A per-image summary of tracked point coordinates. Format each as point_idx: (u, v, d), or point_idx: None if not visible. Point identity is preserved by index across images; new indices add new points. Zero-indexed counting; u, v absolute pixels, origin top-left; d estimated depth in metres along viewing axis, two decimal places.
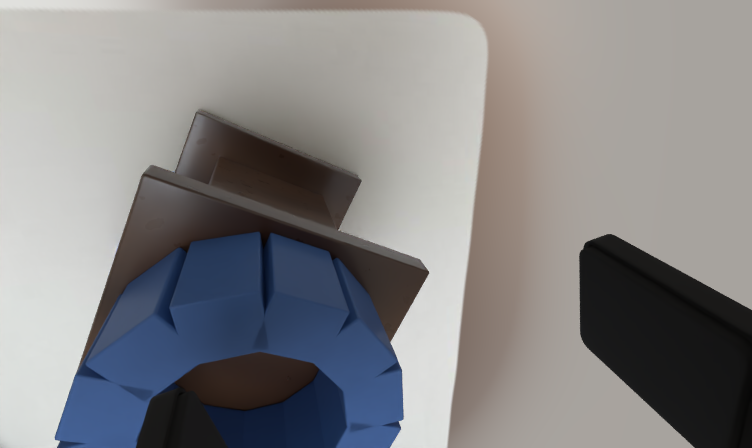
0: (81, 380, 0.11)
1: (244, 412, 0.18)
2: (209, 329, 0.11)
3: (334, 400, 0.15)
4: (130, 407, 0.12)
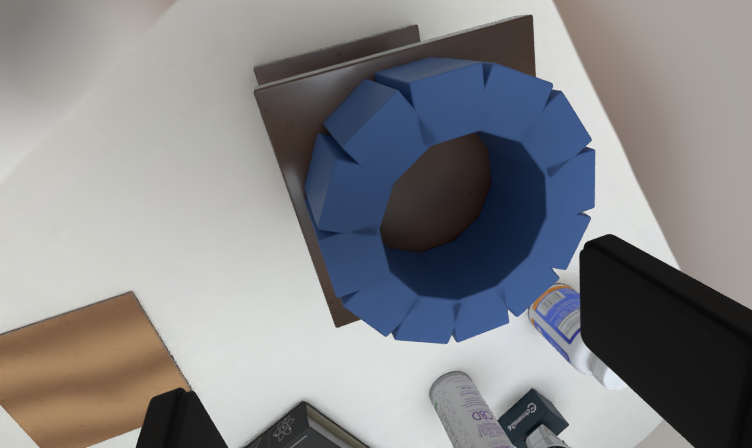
0: (324, 242, 0.13)
1: (454, 242, 0.19)
2: (382, 148, 0.12)
3: (519, 172, 0.16)
4: (369, 246, 0.14)
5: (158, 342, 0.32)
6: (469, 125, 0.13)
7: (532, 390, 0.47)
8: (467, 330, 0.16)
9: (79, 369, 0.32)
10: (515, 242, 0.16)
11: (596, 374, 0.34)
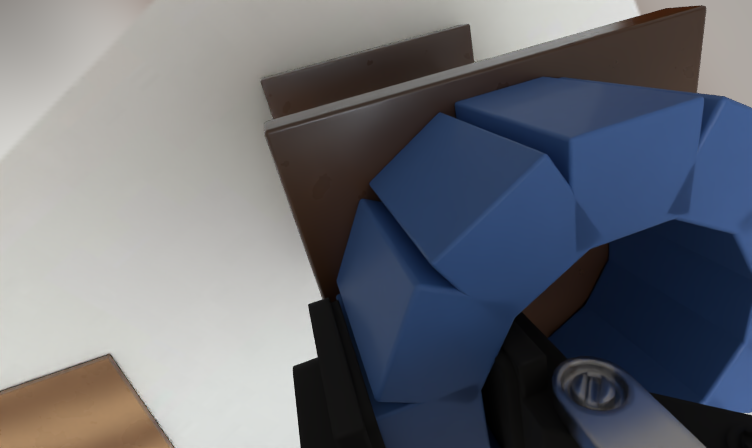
0: (384, 421, 0.07)
1: None
2: (503, 260, 0.06)
3: (685, 261, 0.10)
4: (461, 418, 0.08)
5: (143, 412, 0.27)
6: (660, 211, 0.07)
7: None
8: None
9: (45, 447, 0.26)
10: (670, 368, 0.10)
11: None
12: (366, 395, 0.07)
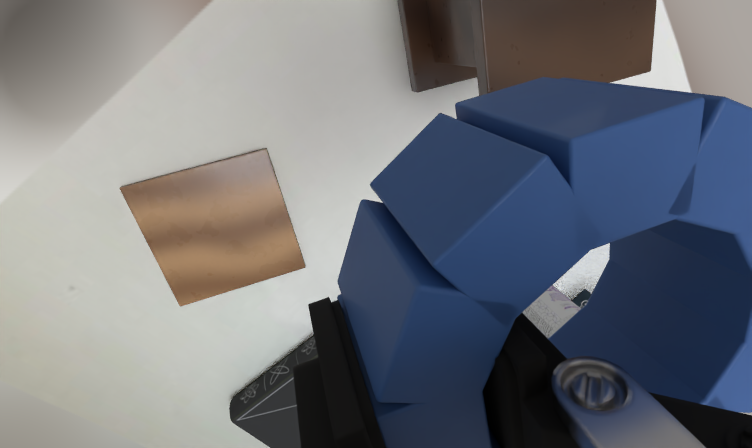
0: (386, 421, 0.07)
1: None
2: (504, 261, 0.06)
3: (685, 261, 0.10)
4: (462, 418, 0.08)
5: (281, 198, 0.37)
6: (660, 211, 0.07)
7: (584, 290, 0.52)
8: None
9: (215, 217, 0.36)
10: (671, 368, 0.10)
11: None
12: (366, 395, 0.07)
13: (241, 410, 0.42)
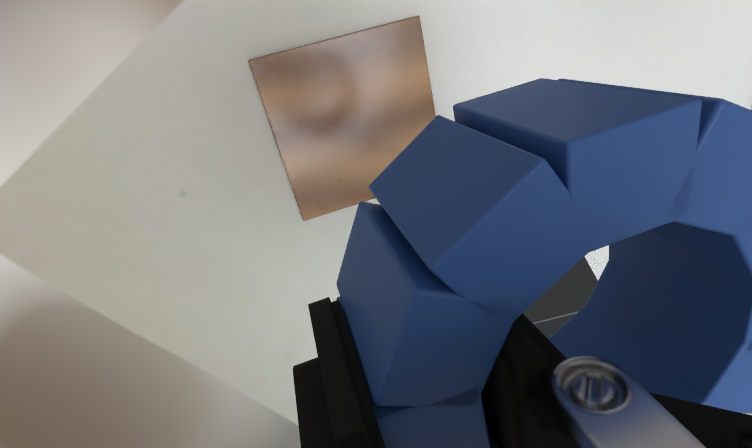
0: (384, 424, 0.07)
1: None
2: (502, 264, 0.06)
3: (685, 262, 0.10)
4: (461, 421, 0.08)
5: (429, 84, 0.31)
6: (658, 213, 0.07)
7: None
8: None
9: (353, 106, 0.30)
10: (670, 369, 0.10)
11: None
12: (367, 395, 0.07)
13: None
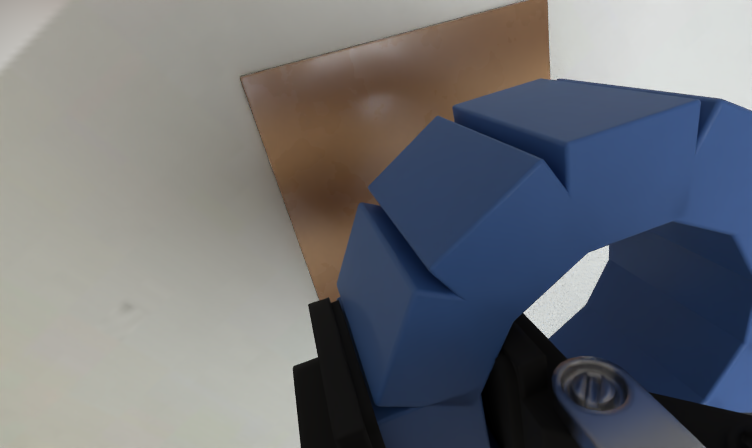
0: (384, 425, 0.07)
1: None
2: (501, 265, 0.06)
3: (685, 261, 0.10)
4: (461, 421, 0.08)
5: None
6: (657, 214, 0.07)
7: None
8: None
9: None
10: (671, 368, 0.10)
11: None
12: (366, 395, 0.07)
13: None
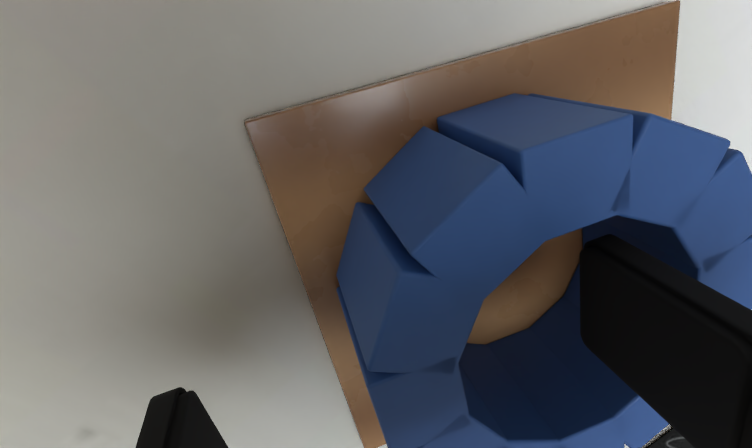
0: (376, 388, 0.09)
1: (530, 329, 0.15)
2: (471, 251, 0.08)
3: None
4: (442, 387, 0.09)
5: None
6: (603, 208, 0.08)
7: None
8: None
9: None
10: None
11: None
12: None
13: None
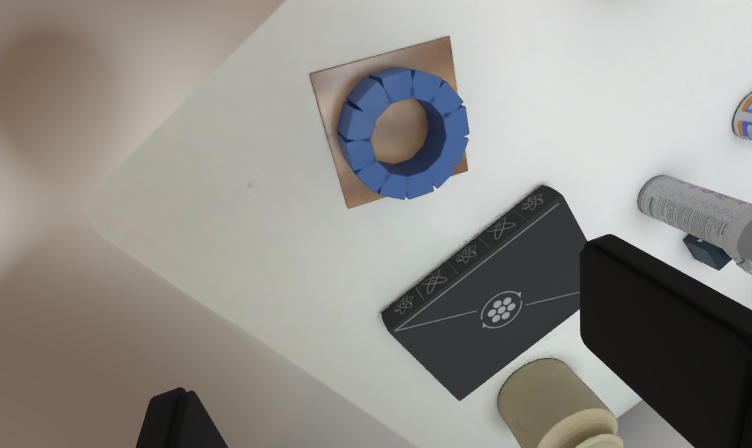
0: (348, 144, 0.32)
1: (411, 159, 0.38)
2: (371, 104, 0.31)
3: (436, 119, 0.35)
4: (366, 147, 0.32)
5: (456, 92, 0.37)
6: (407, 95, 0.32)
7: None
8: (413, 193, 0.35)
9: (393, 111, 0.36)
10: (435, 152, 0.35)
11: None
12: None
13: (399, 320, 0.42)
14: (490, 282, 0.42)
